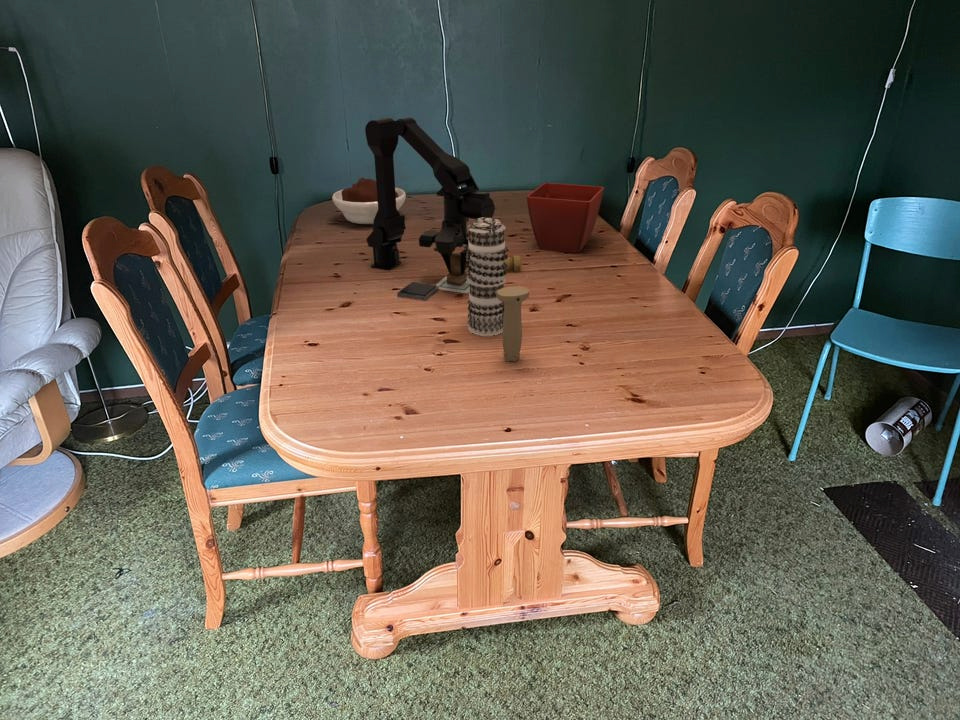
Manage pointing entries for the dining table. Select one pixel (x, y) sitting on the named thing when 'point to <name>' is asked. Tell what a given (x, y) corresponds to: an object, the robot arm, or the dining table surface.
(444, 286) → the print card
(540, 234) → the plant pot
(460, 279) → the stamp
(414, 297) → the ink pad
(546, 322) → the dining table surface
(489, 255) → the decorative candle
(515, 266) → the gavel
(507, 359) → the handle
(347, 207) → the bowl of chocolate pudding
